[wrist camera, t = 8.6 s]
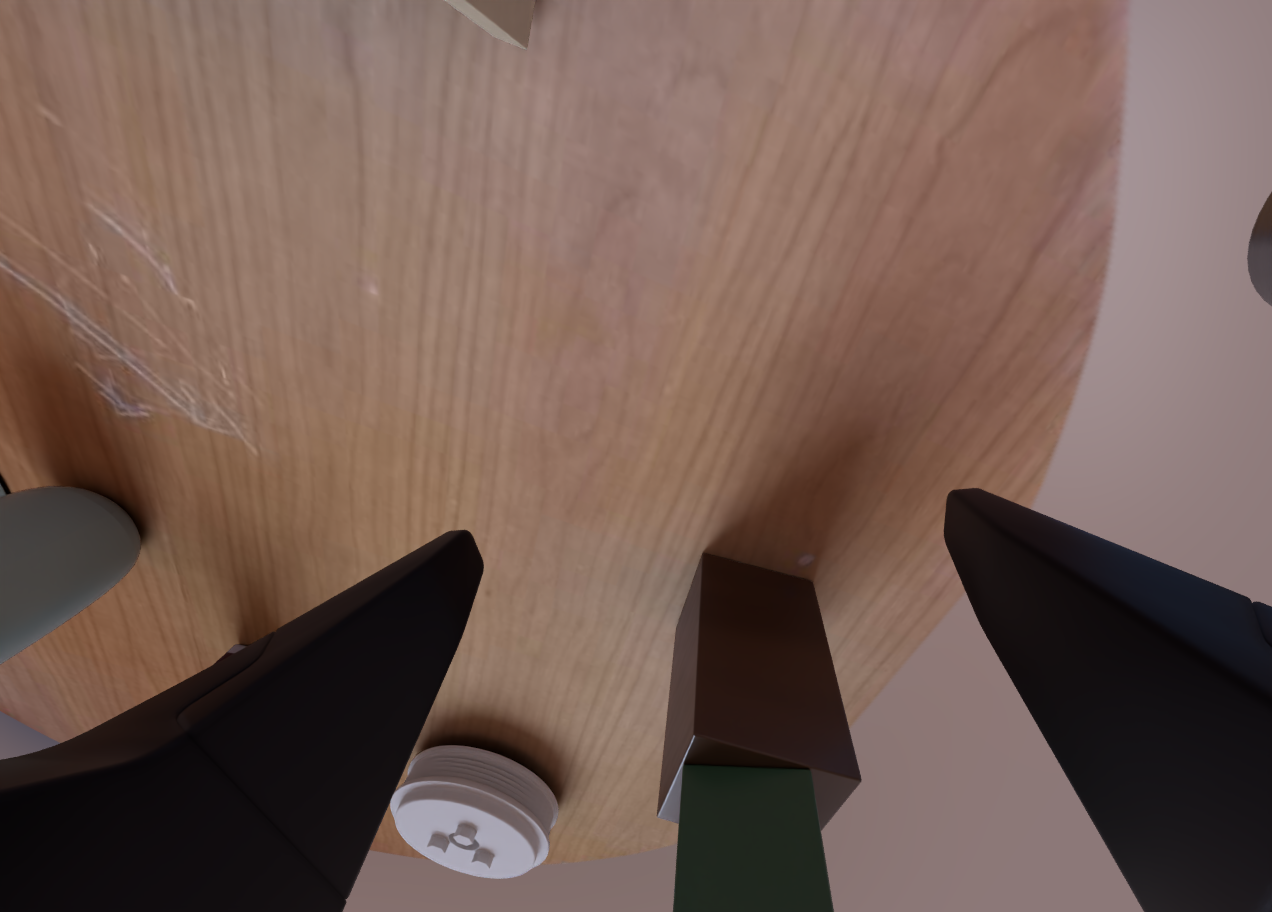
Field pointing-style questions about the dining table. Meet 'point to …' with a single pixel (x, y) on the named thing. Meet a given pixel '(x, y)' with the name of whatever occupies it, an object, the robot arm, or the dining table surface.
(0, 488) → the dark glass bottle
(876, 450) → the dining table surface
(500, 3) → the drawer
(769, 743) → the stand
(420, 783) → the grey round disc
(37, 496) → the cup
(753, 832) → the block
